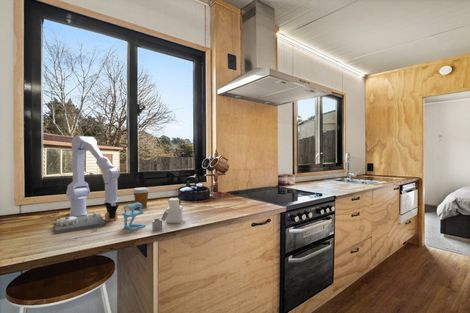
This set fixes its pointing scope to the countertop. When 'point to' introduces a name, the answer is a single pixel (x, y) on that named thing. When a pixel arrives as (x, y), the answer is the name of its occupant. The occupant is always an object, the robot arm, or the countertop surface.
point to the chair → (133, 215)
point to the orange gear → (109, 217)
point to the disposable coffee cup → (141, 196)
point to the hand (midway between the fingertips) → (111, 216)
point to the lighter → (158, 222)
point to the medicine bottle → (174, 211)
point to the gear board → (79, 223)
